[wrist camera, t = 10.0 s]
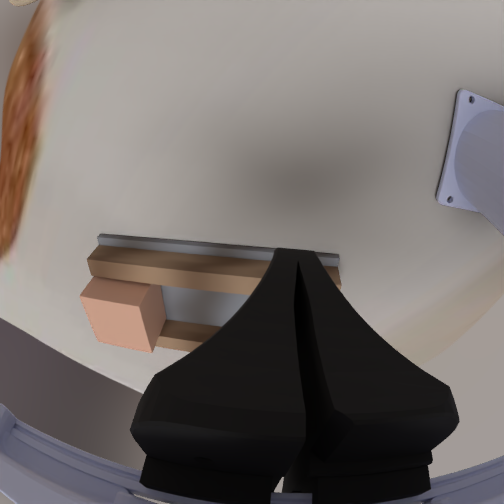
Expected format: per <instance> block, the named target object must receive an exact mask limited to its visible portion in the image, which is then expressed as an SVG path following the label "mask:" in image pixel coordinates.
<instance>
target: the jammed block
mask: <svg viewBox="0 0 504 504" xmlns="http://www.w3.org/2000/svg"><path fill="white" fill-rule="evenodd" d="M80 299H81V301H82V304H83V307H84V309H85V312H86V314H87V317H88V319H89V322H90V324H91V326H92V329H93V331H94V333H95V336H96V338H97V340H98V341H99V342H103V343H107V344H111V345H115V346H120V347H124V348H129V349H134V350H139V351H144V352H149V353H152V352H153V350H154V347H155V345H156V342H157V340H158V337H159V335H160V332H161V330H162V328H163V325H164V323H165V320H166V313H165V307H164V302H163V297H162V291H161V286H160V285H156V284H148V283H140V282H133V281H126V280H119V279H112V278H105V277H98V276H94V277H93V278H92V279H91V281H90V282H89V283H88V285H87V286H86V288H85V289H84V290H83V292H82V293H81V294H80Z"/></svg>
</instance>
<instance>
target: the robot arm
mask: <svg viewBox="0 0 504 504" xmlns="http://www.w3.org/2000/svg"><path fill="white" fill-rule="evenodd" d="M470 96H471V98H472V101H471V102H469V97H470ZM449 196H451V198H450V200H449V201H447V198H448V197H449ZM436 199H437V201H438V202H439V203H440V204H441V205H445V206H450V207H455V208H460V209H465V210H470V211H475V212H479V213H482V214H483V215H484V216H485V217H486V218H487V219H488V220H489V221H490V222H491V223H492V224H493V225H494V226H495V227H496V228H497V229H498V230H499V231H500V232H501V233H502V234H503V235H504V106H502V105H500V104H497V103H495V102H493V101H491V100H489V99H486V98H484V97H482V96H479V95H477V94H475V93H472V92H470V91H467V90H463V89H461V90H459V91H458V93H457V99H456V106H455V113H454V119H453V125H452V130H451V136H450V141H449V146H448V151H447V155H446V160H445V164H444V168H443V172H442V176H441V180H440V184H439V188H438V192H437V196H436ZM458 423H459V416H458V412H457V408H456V404H455V401H454V398H453V395H452V392H451V390H450V387H449V386H448V385H446V384H444V383H443V382H441V381H439V380H438V379H436V378H435V377H433V376H431V375H430V374H428V373H427V372H425V371H423V370H422V369H420V368H419V367H418V366H416V365H415V364H414V363H412V362H411V361H410V360H408V359H407V358H405V357H404V356H403V355H402V354H400V353H399V352H398V351H397V350H395V349H394V348H393V347H392V346H391V345H390V344H388V343H387V342H386V341H385V340H384V339H383V338H382V337H381V336H379V335H378V334H377V333H376V332H375V331H374V330H373V329H372V328H371V327H370V326H369V325H368V324H367V323H366V322H365V321H364V319H363V318H362V317H361V316H360V315H359V314H358V313H357V312H356V311H355V310H354V308H353V307H352V306H351V305H350V303H349V302H348V301H347V300H346V298H345V297H344V296H343V294H342V293H341V291H340V290H339V289H338V287H337V286H336V284H335V283H334V281H333V280H332V279H331V277H330V276H329V274H328V272H327V271H326V269H325V268H324V266H323V265H322V263H321V261H320V260H319V258H318V256H317V254H316V253H315V252H314V251H309V250H298V249H286V248H277V249H275V250H274V254H273V258H272V260H271V262H270V264H269V267H268V269H267V270H266V272H265V274H264V275H263V277H262V279H261V281H260V282H259V284H258V285H257V287H256V288H255V289H254V291H253V292H252V294H251V295H250V296H249V298H248V299H247V300H246V301H245V303H244V304H243V305H242V306H241V307H240V309H239V310H238V311H237V312H236V313H235V314H234V315H233V316H232V317H231V318H230V319H229V320H228V321H227V322H226V323H225V324H224V325H223V326H222V327H221V328H220V329H219V330H218V331H217V332H216V333H215V334H213V335H212V336H211V337H210V338H209V339H207V340H206V341H205V342H203V343H202V344H201V345H199V346H198V347H197V348H196V349H194V350H193V351H192V352H190V353H189V354H187V355H186V356H185V357H183V358H181V359H180V360H178V361H177V362H175V363H173V364H172V365H170V366H168V367H167V368H165V369H164V370H162V371H160V372H158V373H157V374H155V375H154V377H153V378H152V380H151V382H150V383H149V385H148V386H147V388H146V390H145V392H144V394H143V396H142V398H141V399H140V402H139V404H138V407H137V410H136V413H135V416H134V419H133V422H132V425H131V428H130V431H131V434H132V436H133V438H134V439H135V441H136V442H137V443H138V444H139V446H140V447H141V448H142V450H143V451H144V452H145V453H146V454H147V456H146V459H145V463H144V467H143V470H142V471H140V470H137V469H134V468H130V467H127V466H124V465H121V464H118V463H115V462H112V461H109V460H106V459H103V458H101V457H98V456H95V455H93V454H90V453H87V452H85V451H82V450H80V449H78V448H75V447H73V446H70V445H68V444H66V443H64V442H61V441H59V440H57V439H55V438H53V437H51V436H49V435H46V434H45V433H42V432H41V431H38V430H36V429H35V428H33V427H31V426H29V425H27V424H25V423H23V422H22V421H20V420H18V419H16V417H15V416H14V415H13V413H12V412H11V411H10V410H8V409H7V408H6V407H5V406H4V405H3V404H1V403H0V492H2V493H3V494H4V495H5V496H7V497H8V498H9V499H10V500H12V501H13V502H14V503H15V504H157V503H154V502H151V501H148V500H145V499H142V498H139V497H136V496H134V494H136V495H140V496H143V497H147V498H150V499H154V500H158V501H161V502H165V503H170V504H421V503H422V504H504V456H501V457H499V458H496V459H494V460H491V461H488V462H485V463H482V464H480V465H477V466H474V467H471V468H467V469H464V470H461V471H458V472H454V473H451V474H447V475H443V476H439V477H436V478H431V479H430V477H429V470H428V465H429V464H431V463H432V461H433V458H432V452H431V450H432V449H433V448H435V447H436V446H437V445H439V444H440V443H441V442H442V441H444V440H445V439H446V438H447V437H448V436H449V435H450V434H451V433H452V432H453V431H454V430H455V429H456V427H457V425H458ZM282 477H284V481H283V488H282V493H275V492H274V490H275V488H276V486H277V484H278V483H279V481H280V480H281V478H282Z"/></svg>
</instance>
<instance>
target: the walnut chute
mask: <svg viewBox="0 0 504 504" xmlns="http://www.w3.org/2000/svg"><path fill="white" fill-rule="evenodd" d="M97 239H98V243H99V245H98V247H97V248H96V249H95V250H94V251H93V252H92V254H91V255H90V256H89V257H88V258H87V262H88V265H89V269H90V272H91V275H92V276H98V277H105V278H112V279H119V280H126V281H133V282H140V283H148V284H156V285H160V286H161V291H162V297H163V302H164V307H165V313H166V320H165V323H164V325H163V328H162V330H161V332H160V335H159V337H158V340H157V342H156V345H155V346H158V347H163V348H169V349H175V350H181V351H187V352H192V351H193V350H194V349H196V348H197V347H198V346H199V345H201V344H202V343H203V342H205V341H206V340H207V339H209V338H210V337H211V336H212V335H213V334H215V333H216V332H217V331H218V330H219V329H220V328H221V327H222V326H223V325H224V324H225V323H226V322H227V321H228V320H229V319H230V318H231V317H232V316H233V315H234V314H235V313H236V312H237V311H238V310H239V309H240V307H241V306H242V305H243V304H244V303H245V301H246V300H247V299H248V298H249V296H250V295H251V294H252V292H253V291H254V289H255V288H256V287H257V285H258V284H259V282H260V281H261V279H262V277H263V275H264V274H265V272H266V270H267V269H268V267H269V264H270V262H271V260H272V258H273V254H274V250H275V249H271V248H260V247H248V246H237V245H226V244H214V243H202V242H191V241H179V240H167V239H155V238H143V237H131V236H119V235H107V234H100V235H99V236H98V237H97ZM315 253H316V252H315ZM316 254H317V256H318V258H319V260H320V261H321V263H322V265H323V266H324V268H325V269H326V271H327V272H328V274H329V276H330V277H331V279H332V280H333V281H334V283H335V284H336V286H337V287H338V289H339V290H340V289H341V280H340V275H339V271H338V263H339V259H340V258H339V255H338V254H327V253H316Z"/></svg>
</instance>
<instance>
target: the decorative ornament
mask: <svg viewBox="0 0 504 504" xmlns="http://www.w3.org/2000/svg"><path fill="white" fill-rule="evenodd" d="M9 1H10V3H11V4H12V5H14V6H24V5H28V4H31V3H33V2H35V1H37V0H9Z"/></svg>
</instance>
